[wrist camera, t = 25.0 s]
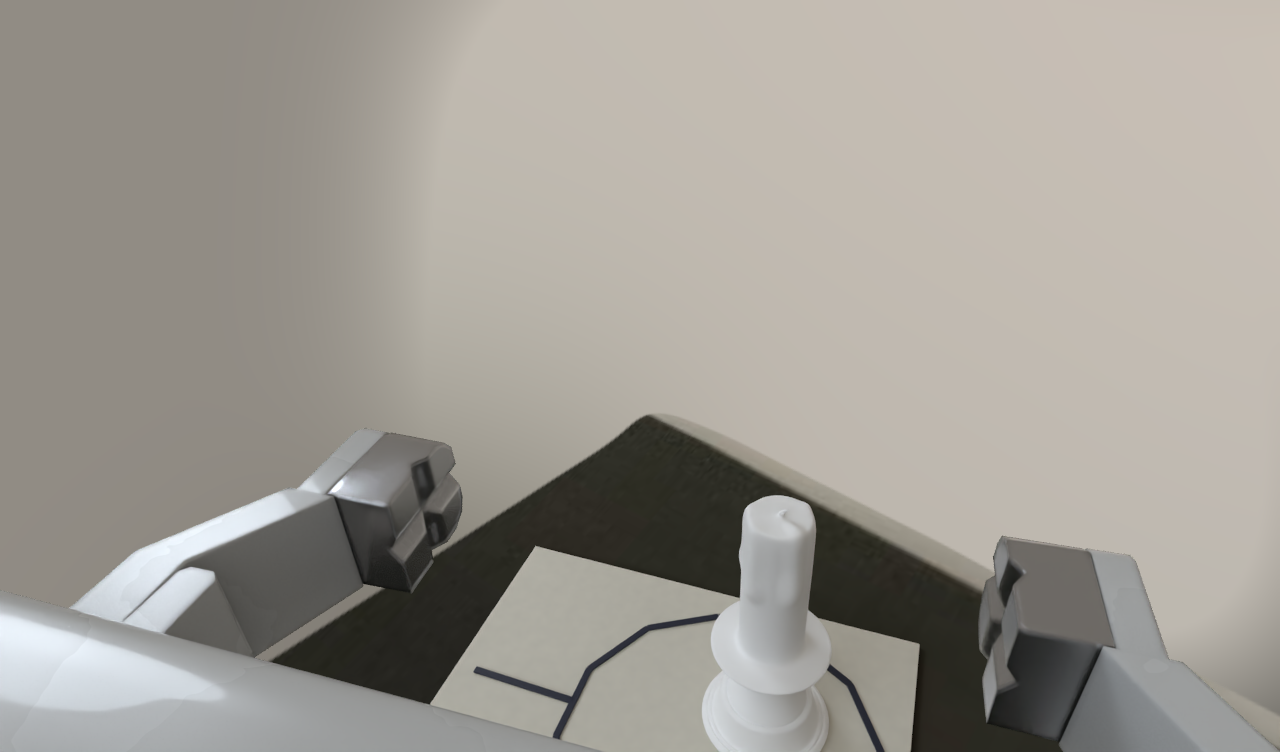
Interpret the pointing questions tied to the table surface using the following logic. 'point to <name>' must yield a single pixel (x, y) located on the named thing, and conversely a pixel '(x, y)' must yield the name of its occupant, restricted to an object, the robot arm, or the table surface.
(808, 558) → the candle
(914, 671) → the sketch sheet
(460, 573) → the table surface
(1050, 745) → the table surface
